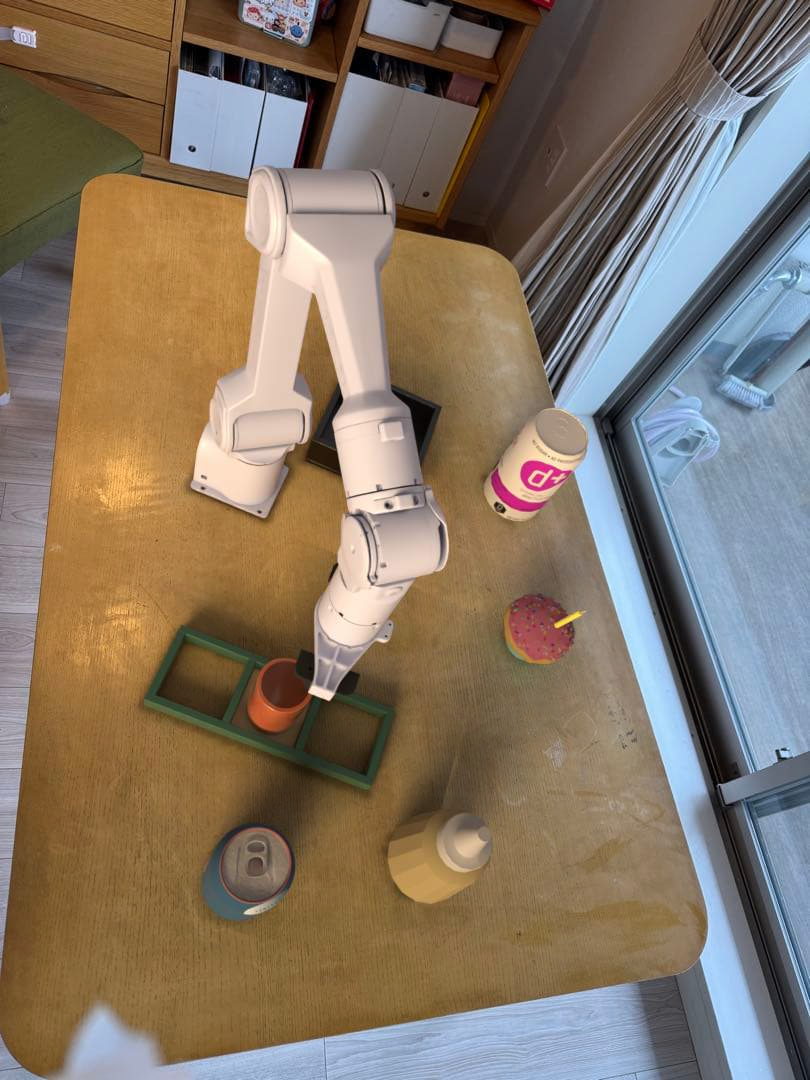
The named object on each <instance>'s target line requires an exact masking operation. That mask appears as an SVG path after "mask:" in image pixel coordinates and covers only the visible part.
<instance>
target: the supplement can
mask: <svg viewBox="0 0 810 1080" xmlns="http://www.w3.org/2000/svg"><path fill="white" fill-rule="evenodd" d="M588 433H589V432H588V431H587V429H586V427H585V425H584V423H583V422H582V421H581V420H580V419H579V418H578V417H577V416H576V415H574V414H573V413H571V412H570V411H568V410H565V409H563V408H560V407H548V408H545V409H542V410H541V411H539V412H535V413H533V414H532V415H531V416H530V417H528V418H527V419H526V421H525V423H524V424H523V425H522V427H521V428H520V429H519V431H518V432H517V434H516V435H515V436H514V438H513V439H512V441H511V442H510V444H509V445H508V447H507V448H506V449H505V450H504V452H503V453H502V454H501V457H500V458H499V459H498V460H497V462H496V464H495V465H494V466H493V468H492V469H491V470H490V472H489V473H488V475H487V476H486V478H485V481H484V483H483V491H484V492H483V494H484V496H485V499H486V502H487V504H488V505H489V506H490V507H491V508H492V510H493V511H494V512H495V513H496V514H498V515H499V516H501V517H502V518H505V519H507V520H510V521H512V522H525V521H526V522H527V521H528V520H531V519H533V518H534V517H535V516H536V515H537V514H539V512H540V511H541V509H542V508H543V507H544V506H545V505H546V504H547V503H548V501H550V499H551V498H552V497H553V496H554V495H555V494H556V493H557V492H558V490H560V488H561V487H562V486H563V484H564V483H565V482H566V481H567V480H568V479H569V477H570V476H571V475H572V474H573V473H574V472H575V471H576V469H577V468H579V466H580V465H581V463H582V462H583V461H584V460H585V458H586V456H587V452H588V445H589V440H590V439H589V434H588Z"/></svg>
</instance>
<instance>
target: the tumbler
mask: <svg viewBox="0 0 810 1080" xmlns="http://www.w3.org/2000/svg"><path fill="white" fill-rule="evenodd" d="M271 660H272V661H270V662H269V663H267V664H266V665H265V666H264V667H263V668H262V669H261V670H260V673H259V675H258V677H257V680H256V682H255V684H254V687H253V689H252V692H251V694H250V696H249V699H248V701H247V705H246V714H247V718H248V720H249V722H250V724H251V725H252V726H253V727H254V728H255V729H256V730H257V731H259V732H261V733H263V734H266V735H279V734H282V733H285V732H286V731H288V730H289V729H290V728H291V727H292V726H293V725H294V724H295V722H296V721H297V719H298V717H299V716H300V714H301V713H302V711H303V710H304V708H305V706H306V705H307V703H308V702H309V700H310V698H311V696H312V694H310V693H308V691H309V690H308V689H306V688H305V687H304V684H303V680H301V679H299V678H297V677H295V676H294V667H295V664H296V661H297V659H293V658H289V657H279V658H276V659H271ZM312 697H313V696H312Z"/></svg>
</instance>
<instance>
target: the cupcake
mask: <svg viewBox="0 0 810 1080" xmlns="http://www.w3.org/2000/svg"><path fill="white" fill-rule="evenodd" d="M587 611H588V609H583V610H581V609H578V610H576V611H574V612H572V613H571V614H568V613H567V610H566V609H565V608H564V607H563V605H562V604H561V603H560V602H558V601H557V600H554V599H553V598H552V597H548V596H546V595H544V594H541V593H528V594H523V596H521V597H519V598H517V599H515V600H513V601H512V602H511V603H509V605H508V606H507V607H506V609H505V611H504V614H503V615H504V616H503V626H504V632H503V633H504V639H505V644H506V647H507V649H508V651H509V652H510V654H512V656H514V657H515V658H516V659H518V660H521V661H525V662H527V663H528V664H537V665H538V664H539V665H549V664H550V665H551V664H554V663H557V662H558V661H560V660H561V659H563V658H565V656H567V654H568V653H569V652H570V650H571V648H572V645H574V644H575V643H574V640H575V637H576V633H577V631H576V630H575V626H574V622H573V620H576V619H578V618H580V617H581V616H583V614H584V613H586V612H587Z"/></svg>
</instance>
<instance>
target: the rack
mask: <svg viewBox="0 0 810 1080" xmlns="http://www.w3.org/2000/svg"><path fill="white" fill-rule="evenodd" d="M185 642H187V643H190V644H192V645H195V646H197V647H200V648H202V649H204V650H207V651H210V652H213V653H215V654H218V655H220V656H223V657H224V658H225V657H226V658H228V659H231V660H233V661H236V662H237V663H241V664H243V665H245V667H244V670H243V671H242V674H241V676H240V678H239V681H238V682H237V685H236V687H235V690H234V692H233V694H232V697H231V699H230V701H229V704H228V706H227V708H226V710H225V712H224V714H223V718H222V719H219V718H216V717H213V716H212V715H209V714H206V713H203V712H200V711H198V710H195V709H194V708H191V707H188V706H186V705H183V704H180V703H178V702H175V701H173V700H169V699H167V698H164V697H162V696H159V693H160V691H161V690H162V687H163V685H164V683H165V681H166V679H167V677H168V675H169V673H170V671H171V668H173V665H174V663H175V662H176V661H175V660H176V659H177V657H178V655H179V653H180V650H181V648H182V646H183V645H184V643H185ZM272 660H273V659H269V658H267V657H265V656H261V655H259V654H257V653H254V652H252V651H249V650H247V649H244V648H241V647H239V646H236V645H234V644H232V643H229V642H226V641H224V640H221V639H219V638H216V637H214V636H211V635H208V634H207V633H204V632H201V631H199V630H197V629H193V628H191V627H189V626H186V625H184V624H181V625H180V626H179V628H178V631H177V633H176V635H175V637H174V638H173V640H172V642H171V644H170V647H168V650H167V652H166V654H165V656H164V658H163V660H162V662H161V664H160V666H159V668H158V670H157V672H156V674H155V676H154V678H153V680H152V682H151V684H150V686H149V688H148V690H147V692H146V694H145V696H144V698H143V706H145V707H148V708H151V709H153V710H155V711H158V712H161V713H164V714H166V715H169V716H171V717H174V718H177V719H179V720H181V721H185V722H187V723H189V724H192V725H195V726H198V727H200V728H202V729H205V730H208V731H211V732H213V733H215V734H218V735H220V736H221V735H222V736H224V737H227V738H229V739H232V740H234V741H236V742H239V743H242V744H244V745H247V746H250V747H252V748H255V749H258V750H261V751H262V752H265V753H268V754H271V755H274V756H276V757H279V758H281V759H283V760H287V761H289V762H292V763H294V764H297V765H299V766H302V767H305V768H308V769H310V770H312V771H315V772H318V773H320V774H323V775H325V776H328V777H331V778H333V779H337V780H339V781H342V782H344V783H347V784H349V785H351V786H354V787H357V788H359V789H362V790H365V791H367V790H369V789H370V788H371V787H372V786H373V783H374V779H375V777H376V773H377V770H378V767H379V764H380V761H381V757H382V754H383V753H382V752H383V750H384V747H385V744H386V740H387V738H388V734H389V731H390V728H391V724H392V721H393V717H394V714H395V710H396V709H395V708H393V707H391V706H389V705H386V704H383V703H380V702H378V701H376V700H373V699H370V698H368V697H366V696H363V695H360V694H358V693H355V692H353V693H352V694H351V695H350V696H349V697H346V696H343V695H340V694H337V693H335V694H334V696H333V697H332V699H331V700H334V701H337V702H340V703H342V704H344V705H347V706H349V707H352V708H355V709H357V710H359V711H363V712H364V713H368V714H370V715H372V716H375V717H377V718H380V721H379V725H378V727H377V731H376V734H375V737H374V740H373V744H372V747H371V751H370V753H369V755H368V756H369V757H368V760H367V763H366V766H365V769H364V772H363V774H362V773H359V772H357V771H354V770H352V769H349V768H347V767H343V766H341V765H339V764H336V763H333V762H331V761H329V760H326V759H323V758H321V757H318V756H315V755H313V754H311V753H307V752H306V751H304V749H305V746H306V743H307V740H308V738H309V735H310V732H311V730H312V728H313V724H314V721H315V719H316V716H317V713H318V710H319V708H320V704H321V703H322V699H323V698H320V697H317V696H315V695H313V694H312V696H311V698H310V700H309V702H308V703H307V705H306V706H305V708H304V710H303V711H302V713H301V714H300V716H299V717H298V719H297V721H296V722H295V724H294V725H293V726H292V727H291V728H290V729H289V730H288V731H286V732H285V733H282V734H279V735H266V734H263V733H261V732H259V731H257V730H256V729H255V728H254V727H253V726H252V725H251V724H250V722H249V720H248V718H247V714H246V705H247V701H248V699H249V696H250V694H251V692H252V689H253V687H254V684H255V682H256V680H257V677H258V675H259V673H260V671H261V669H262V668H263V667H264V666H265V665H266V664H267V663H269V662H270V661H272Z"/></svg>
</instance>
